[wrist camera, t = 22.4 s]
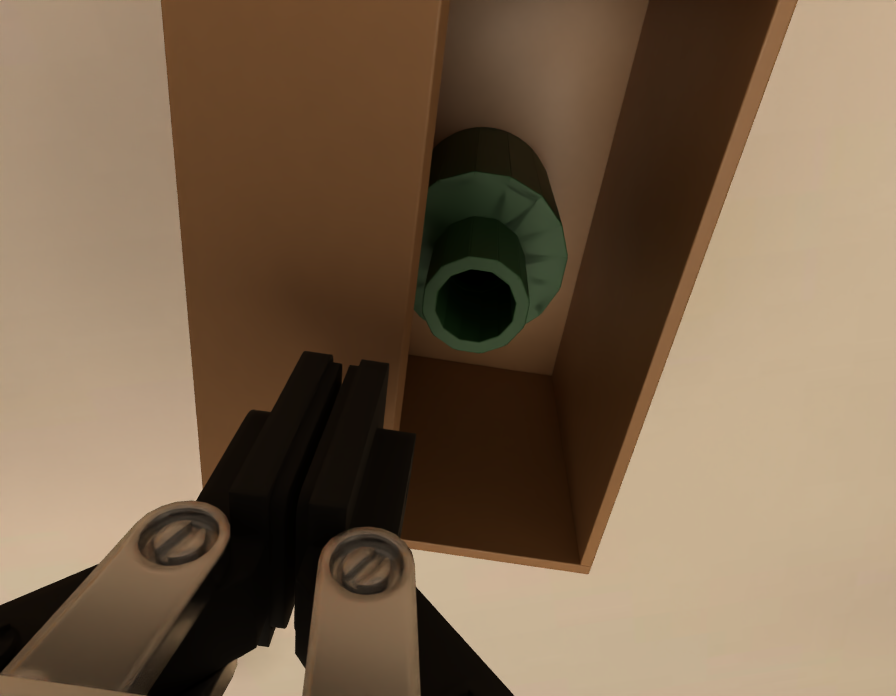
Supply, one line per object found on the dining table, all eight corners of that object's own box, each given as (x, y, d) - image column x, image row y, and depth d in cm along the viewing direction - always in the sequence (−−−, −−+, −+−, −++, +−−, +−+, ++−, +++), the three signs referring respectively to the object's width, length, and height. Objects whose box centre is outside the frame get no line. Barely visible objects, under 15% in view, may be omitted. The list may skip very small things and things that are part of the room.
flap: (215, 530, 21) (206, 538, 20) (164, -130, 12) (148, -135, 12) (378, 613, 19) (371, 624, 18) (462, -97, 10) (452, -102, 10)
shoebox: (309, 342, 32) (216, 520, 21) (320, -74, 23) (168, -131, 12) (556, 379, 32) (588, 574, 21) (662, -20, 23) (809, -30, 12)
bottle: (409, 248, 29) (366, 377, 19) (423, 116, 26) (381, 190, 16) (533, 267, 29) (554, 405, 19) (562, 138, 26) (602, 224, 16)
